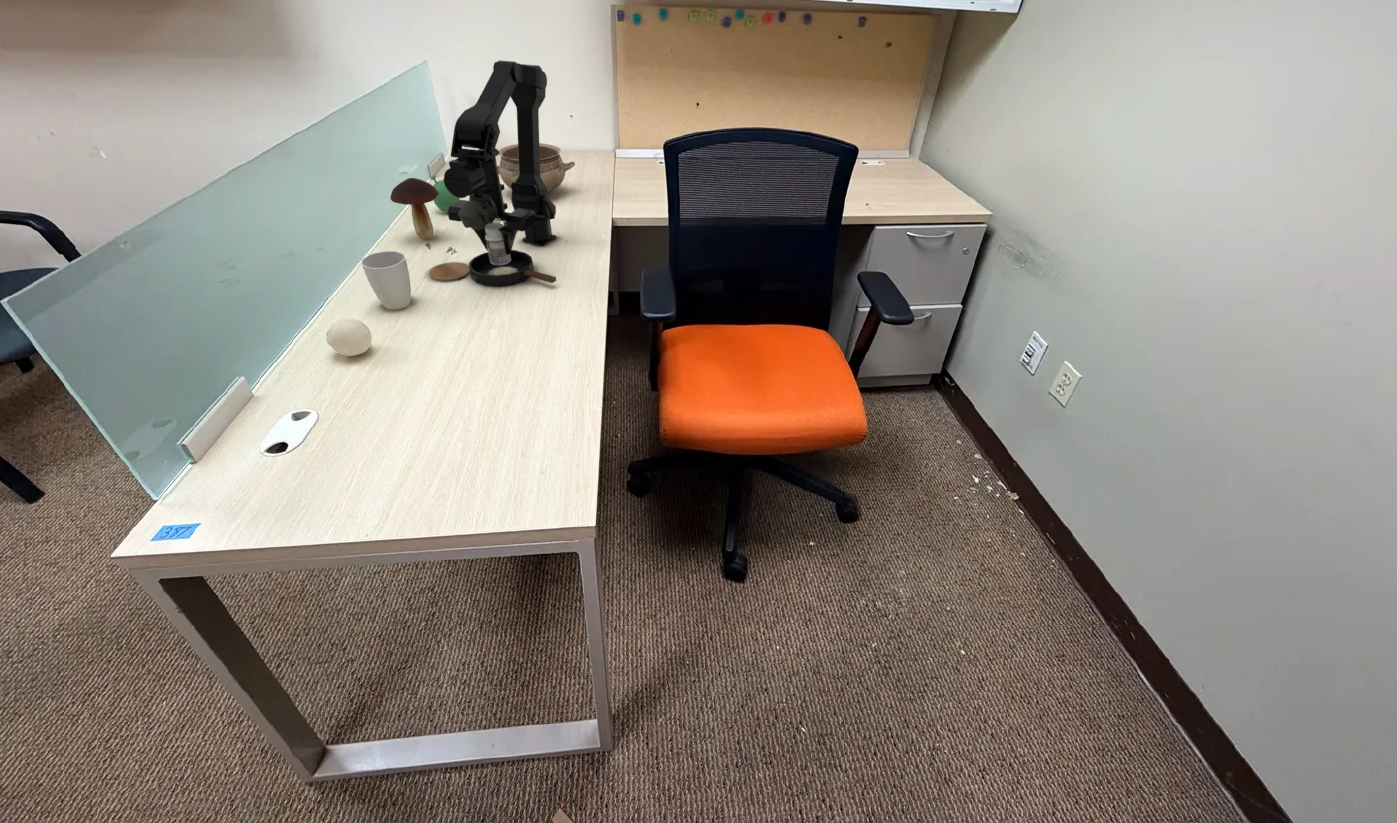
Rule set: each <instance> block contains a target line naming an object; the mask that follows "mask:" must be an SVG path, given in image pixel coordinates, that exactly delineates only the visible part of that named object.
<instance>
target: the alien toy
mask: <svg viewBox="0 0 1397 823" xmlns="http://www.w3.org/2000/svg"><path fill="white" fill-rule="evenodd" d="M436 178H437V176H436V175H431V176H430V180H432V181H433V182H434V183H433V186H434V187H435V188H436V190H437V191H438V192H439V195H438V196H437V197H436V198H435V199H434V200H433V203H434V204H435V206H436V208H437V209H439V210H440V211H442V212H445V213H448V212H447V211H448V208H449V206H451V205H452V204H454V203H456V202H458V201H460V200H461V198H458V197H455V196H454V195H452V194H451V193H450V192H449V191H448V190H447V188H446V186H445V184H444V180H443V179H441V180H436Z"/></svg>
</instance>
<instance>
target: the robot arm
mask: <svg viewBox="0 0 1397 823" xmlns="http://www.w3.org/2000/svg"><path fill="white" fill-rule="evenodd" d="M547 86H548V77H547V74H546V72H545V70H544V71H543V69H542V67H541V66H540V65H537V64H525V63H519V62H516V61H511V60H501V59H500V60H497V61H495V62H494V63H493V67H492V72H491V74H490V76H489V78H488V80H487V82H486V84H485V86H484V87H483V89H482V91H481V93H480V95H479V97H478V100H476V103H475V104H474V105H473V106H471V107H469V108H467V109H465V110H463V112H462V113H461V114H460V115H459V117H457V119H456V121H455V124H454V128H453V136H452V143H451V150H450V157H451V158H456V159H451V160H450V161H448V165H449V168H448V169H446V171H444V174H443V179H442V180H444V184H445V186H446V188H447V190H448V191H449V192H450V193H451V194H452V195H454V196H455V197H458V198H460V201H458V202H456V203H454V204H452V205H451V206H449V208H448V211H447V212H446V213H447V216H448V220H449V221H454V222H460V223H462V225H463V227H464V228H465V229H472V230H473V231H474V233H475V234H476V235H477V237H478V238H479V240H480V242H481V243H482V245H483V247H484V248H485V251H486V252H488V250H487V245H486V240H485V235H486V232H485V226H486V225H487V224H489V223H490V224H492V222H493V221H494V220H499V221H501V222H502V224H503V227H501V228H500V229H499V231H500V232H501V233H502V234H503V239H504V245H505V250H506V253H507V255H509V254H510V253H511V250H513V247H514V243H515V239H516V235H517V233H518V232H524V236H525V237H522V239H521V241H522V242H525V243H528V244H532V245H535V246H540V247H543V246H545V245H547V244H548V243H549V244H550V242H552V241H555V239H557V238H558V236H557V235H555V234H553V233H552V232H553V231H552V224H551V220H554V219H555V218H556V213H557V207H556V204H554V202H553V201H552V200H551V198H550V197H549V193H548V192H547V187H546V185H545V184H544V182H543V180H542V178H541V177H540V152H539V143H540V119H539V118H540V117H539V116H540V115H539V110H540V108H541V106H542V104H543V102H544V100H545V99H546V93H547V92H546V91H547V90H546V89H547ZM510 99H511V100H512V102H513V104H514V106H515V108H516V123H517V124H516V126H517V128H516V129H517V144H518V157H519V176H518V178H517V180H516V181H515V183H514V182H513V183H512V185H511V188H510V189H511V197H510V200H511V205H512V208H513V210H514V211H512V212H506V210H507V209H508V208H509V206H508V203H507V202H504V198H503V191H504V190H505V183H501V180H500V174H498V168H497V166H498V163H497V158H496V157H498V156H500V154H499V153H500V152H499V151H500V150H498V149H497V148H496V146H497V143H498V141H499V137H500V133H501V129H500V125H499V121H500V118H501V116H502V114H503V112H504V110H505V108H506V106H507V104H508V102H509V100H510ZM467 197H468V200H466V199H464V198H467Z"/></svg>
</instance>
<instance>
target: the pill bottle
mask: <svg viewBox="0 0 1397 823" xmlns="http://www.w3.org/2000/svg"><path fill="white" fill-rule="evenodd" d="M503 224H504V223H502V222H501V223H492V224H490V223H489V224H487V225H486V226H485V232H486V235H485V240H486V245H487V250H488V251H487V250H486V251H487V252H488V255H489V260H490V263H491V264H493V265H505V264H508V263H509V262H510V261H511V256H510V254H509V255H507V253H506V250H505V245H504V239H503V234H502V233H501V232H500V231H499V229H500V228H501V227H503V226H504V225H503Z"/></svg>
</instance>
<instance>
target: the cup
mask: <svg viewBox="0 0 1397 823" xmlns="http://www.w3.org/2000/svg"><path fill="white" fill-rule="evenodd" d="M360 264H361V266H362V269H363V271H364V274H365V276H366V278H367V281H368V283H369V285H370V287H371V288H372V290H373V292H374V294H375V296H376V298H377V299H378V300H379V301H380V303H381V304H382V305H383V307H384V308H385V309H387V310H389V311H390V310H392V311H397V310H403V309H404V308H407V307H408V306H410V304H411V297H412V288H411V277H410V272H409V267H408V263H407V258H406V255H405V254H404V253H403V252H400V251H395V250H384V251H378V252H374V253H371V254H368V255H366V256H365V257H363V258H362V260H361V261H360Z"/></svg>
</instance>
